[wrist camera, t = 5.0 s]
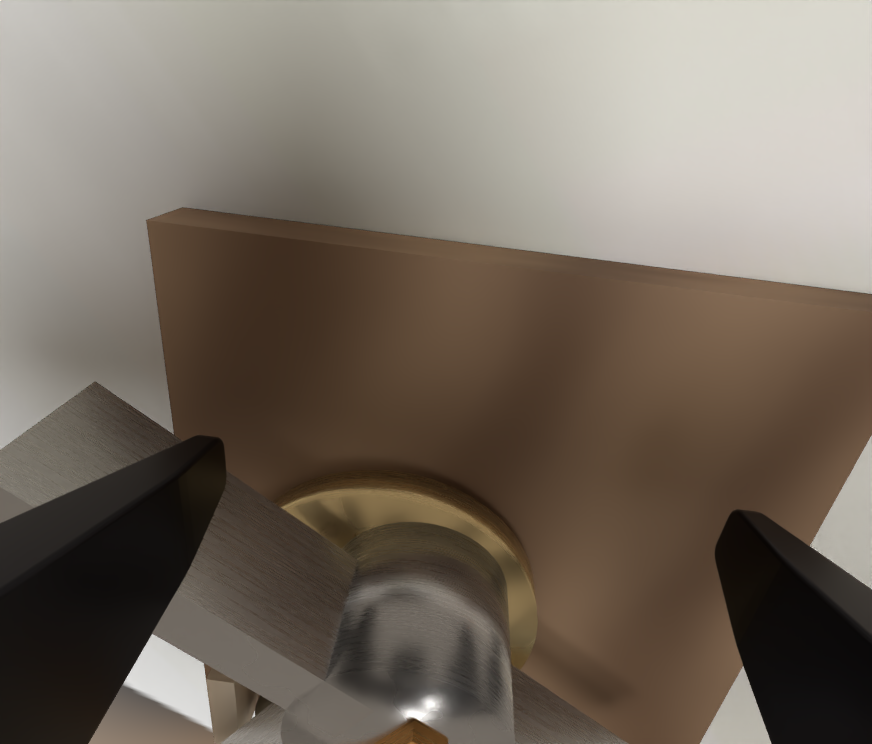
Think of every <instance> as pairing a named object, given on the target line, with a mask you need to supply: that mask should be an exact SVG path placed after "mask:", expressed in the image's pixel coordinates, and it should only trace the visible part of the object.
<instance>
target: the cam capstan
mask: <svg viewBox="0 0 872 744" xmlns="http://www.w3.org/2000/svg"><path fill="white" fill-rule="evenodd" d="M180 442H182V440H181V439H179V438H178V437H176V436H175V435H173V434H172V433H170V432H169V431H167V430H166V429H164V428H163V427H161V426H160V425H159V424H157V423H156V422H154V421H153V420H151V419H150V418H148V417H147V416H145V415H144V414H142V413H141V412H139V411H138V410H136V409H135V408H133V407H132V406H131V405H129V404H128V403H126V402H125V401H123V400H122V399H120V398H119V397H117V396H116V395H114V394H113V393H111V392H110V391H108V390H107V389H106V388H104V387H103V386H101V385H100V384H98V383H97V382H94V383H92V384H91V385H89V386H88V387H87V388H85V389H84V390H83V391H81V392H80V393H78V394H77V395H76V396H74V397H73V398H71V399H70V400H69V401H67V402H66V403H65V404H63V405H62V406H60V407H59V408H58V409H56V410H55V411H54V412H52V413H51V414H49V415H48V416H47V417H45V418H44V419H42V420H41V421H40V422H38V423H37V424H36V425H34V426H33V427H31V428H30V429H29V430H27V431H26V432H24V433H23V434H22V435H20V436H19V437H18V438H16V439H15V440H13V441H12V442H11V443H9V444H8V445H6V446H5V447H4V448H2V449H1V450H0V523H1V522H3V521H6V520H8V519H10V518H12V517H14V516H17V515H19V514H21V513H23V512H26V511H28V510H30V509H32V508H35V507H37V506H39V505H41V504H44V503H46V502H48V501H50V500H53V499H55V498H57V497H59V496H61V495H64V494H66V493H68V492H70V491H73V490H75V489H77V488H79V487H82V486H84V485H86V484H88V483H91V482H93V481H95V480H97V479H99V478H102V477H104V476H106V475H108V474H111V473H113V472H115V471H117V470H120V469H122V468H124V467H126V466H129V465H131V464H133V463H135V462H137V461H140V460H142V459H144V458H146V457H149V456H151V455H153V454H155V453H158V452H160V451H162V450H164V449H167V448H169V447H171V446H173V445H175V444H178V443H180ZM226 473H227V481H226V486H225V490H224V492H223V494H222V497H221V499H220V501H219V504H218V506H217V508H216V510H215V513H214V515H213V517H212V520H211V522H210V524H209V526H208V529H207V531H206V533H205V535H204V538H203V540H202V542H201V545H200V547H199V549H198V551H197V554H196V556H195V558H194V560H193V562H192V564H191V566H190V568H189V570H188V572H187V574H186V576H185V578H184V579H183V581H182V583H181V585H180V586H179V588H178V590H177V592H176V593H175V595H174V597H173V598H172V600H171V602H170V604H169V605H168V607H167V609H166V611H165V612H164V614H163V616H162V617H161V619H160V621H159V623H158V624H157V626H156V628H155V629H154V631H153V633H152V634H154V635H156V636H157V637H159V638H161V639H163V640H164V641H166V642H168V643H170V644H171V645H173V646H175V647H177V648H178V649H180V650H182V651H184V652H185V653H187V654H189V655H191V656H192V657H194V658H196V659H198V660H199V661H201V662H203V663H205V664H206V665H208V666H210V667H212V668H213V669H215V670H217V671H219V672H220V673H222V674H224V675H226V676H227V677H229V678H231V679H233V680H234V681H236V682H238V683H240V684H241V685H243V686H245V687H247V688H248V689H250V690H252V691H254V692H255V693H257V694H259V695H261V696H262V697H264V698H266V699H268V700H269V701H271V702H273V703H272V704H270V705H269V706H268V707H266V708H265V709H264V710H263V711H261V712H260V713H259V714H257V715H256V716H255V717H254V718H252V719H251V720H250V721H248V722H247V723H246V724H245V725H243V726H242V727H241V728H239V729H238V730H237V731H236V732H234V733H233V734H232V735H230V736H229V737H228V738H226V739H225V740H224V741H223V742H221V743H220V744H628V743H627V742H625V741H624V740H622V739H621V738H619V737H618V736H616V735H615V734H613V733H612V732H610V731H609V730H607V729H606V728H605V727H603V726H602V725H600V724H599V723H597V722H596V721H594V720H593V719H591V718H590V717H588V716H587V715H585V714H584V713H582V712H581V711H580V710H578V709H577V708H575V707H574V706H572V705H571V704H569V703H568V702H566V701H565V700H563V699H562V698H560V697H559V696H557V695H556V694H554V693H553V692H552V691H550V690H549V689H547V688H546V687H544V686H543V685H541V684H540V683H538V682H537V681H535V680H534V679H532V678H531V677H529V676H528V675H527V674H525V673H524V672H522V671H521V670H520V669H521V668H522V667H523V665H524V664H525V663H526V661H527V659H528V657H529V655H530V653H531V651H532V649H533V645H534V642H535V639H536V634H537V625H538V619H537V607H536V597H535V588H534V578H533V573H532V569H531V566H530V562H529V560H528V557H527V555H526V553H525V551H524V548H523V547H522V545H521V544H520V542H519V541H518V539H517V537H516V536H515V534H514V533H513V532H512V531H511V530H510V529H509V527H508V526H507V525H506V524H505V523H504V522H503V521H502V520H501V519H500V518H499V517H498V516H497V515H496V514H495V513H493V512H492V511H491V510H490V509H489V508H488V507H486V506H485V505H483V504H482V503H480V502H479V501H477V500H476V499H474V498H473V497H471V496H469V495H467V494H465V493H463V492H462V491H460V490H458V489H456V488H454V487H452V486H449V485H446V484H444V483H441V482H438V481H436V480H433V479H430V478H426V477H422V476H418V475H415V474H410V473H404V472H397V471H391V470H353V471H344V472H338V473H333V474H328V475H324V476H321V477H318V478H315V479H311V480H309V481H306V482H304V483H302V484H300V485H298V486H295V487H293V488H291V489H290V490H288V491H287V492H285V493H284V494H282V495H280V496H279V497H278V498H276V499H275V500H274V501H273V502H272V501H270V500H269V499H267V498H266V497H265V496H263V495H262V494H260V493H259V492H257V491H256V490H254V489H253V488H251V487H250V486H248V485H247V484H245V483H244V482H242V481H241V480H239V479H238V478H237V477H235V476H234V475H232V474H231V473H229V472H228V471H226Z"/></svg>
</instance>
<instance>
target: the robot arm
mask: <svg viewBox="0 0 872 744" xmlns="http://www.w3.org/2000/svg"><path fill="white" fill-rule="evenodd" d="M226 481H227V473H226V461H225V448H224V443H223V441H222V440H221V439H220V438H219V437H212V436H205V435H196V436H193V437H191V438H189V439H187V440H184V441H182V442H180V443H178V444H175V445H173V446H171V447H169V448H167V449H164V450H162V451H160V452H158V453H155V454H153V455H151V456H149V457H146V458H144V459H142V460H140V461H137V462H135V463H133V464H131V465H129V466H126V467H124V468H122V469H120V470H117V471H115V472H113V473H111V474H108V475H106V476H104V477H102V478H99V479H97V480H95V481H93V482H91V483H88V484H86V485H84V486H82V487H79V488H77V489H75V490H73V491H70V492H68V493H66V494H64V495H61V496H59V497H57V498H55V499H53V500H50V501H48V502H46V503H44V504H41V505H39V506H37V507H35V508H32V509H30V510H28V511H26V512H23V513H21V514H19V515H17V516H14V517H12V518H10V519H8V520H6V521H3V522H1V523H0V744H88V743H89V741H90V740H91V738H92V736H93V735H94V733H95V731H96V729H97V728H98V726H99V724H100V723H101V721H102V719H103V717H104V716H105V714H106V712H107V710H108V709H109V707H110V705H111V704H112V702H113V700H114V698H115V697H116V695H117V693H118V691H119V689H120V688H121V686H122V685H123V683H124V681H125V679H126V678H127V676H128V674H129V673H130V671H131V669H132V667H133V666H134V664H135V662H136V660H137V659H138V657H139V655H140V654H141V652H142V650H143V648H144V647H145V645H146V643H147V642H148V640H149V638H150V636H151V635H152V633H153V631H154V629H155V628H156V626H157V624H158V623H159V621H160V619H161V617H162V616H163V614H164V612H165V611H166V609H167V607H168V605H169V604H170V602H171V600H172V598H173V597H174V595H175V593H176V592H177V590H178V588H179V586H180V585H181V583H182V581H183V579H184V578H185V576H186V574H187V572H188V570H189V568H190V566H191V564H192V562H193V560H194V558H195V556H196V554H197V551H198V549H199V547H200V545H201V542H202V540H203V538H204V535H205V533H206V531H207V529H208V526H209V524H210V522H211V520H212V517H213V515H214V513H215V510H216V508H217V506H218V504H219V501H220V499H221V497H222V494H223V492H224V490H225V486H226ZM714 555H715V562H716V566H717V570H718V574H719V578H720V583H721V587H722V591H723V595H724V599H725V603H726V607H727V611H728V615H729V619H730V623H731V627H732V631H733V635H734V638H735V642H736V645H737V648H738V651H739V654H740V657H741V660H742V663H743V666H744V669H745V671H746V674H747V677H748V680H749V682H750V685H751V688H752V691H753V693H754V696H755V699H756V702H757V705H758V707H759V710H760V713H761V716H762V718H763V721H764V724H765V727H766V729H767V732H768V735H769V738H770V740H771V743H772V744H872V589H870V588H869V587H867V586H866V585H865V584H863V583H862V582H860V581H859V580H857V579H856V578H854V577H853V576H852V575H850V574H849V573H847V572H846V571H844V570H843V569H842V568H840V567H839V566H837V565H836V564H834V563H833V562H832V561H830V560H829V559H827V558H826V557H824V556H823V555H821V554H820V553H819V552H817V551H816V550H814V549H813V548H811V547H810V546H809V545H807V544H806V543H804V542H803V541H801V540H800V539H799V538H797V537H796V536H794V535H793V534H791V533H790V532H788V531H787V530H786V529H784V528H783V527H781V526H780V525H778V524H777V523H776V522H774V521H773V520H771V519H770V518H768V517H767V516H766V515H764V514H762V513H760V512H756V511H749V510H741V509H736V510H734V511H732V512H731V513H730V515H729V517H728V519H727V521H726V523H725V525H724V528H723V530H722V532H721V534H720V536H719V539H718V541H717V543H716V546H715V553H714Z"/></svg>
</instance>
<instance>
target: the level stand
mask: <svg viewBox="0 0 872 744" xmlns="http://www.w3.org/2000/svg"><path fill="white" fill-rule="evenodd" d="M146 221H147V229H148V236H149V244H150V252H151V259H152V267H153V275H154V282H155V290H156V298H157V305H158V313H159V321H160V329H161V336H162V344H163V352H164V359H165V367H166V375H167V382H168V390H169V398H170V406H171V413H172V421H173V429H174V435H175V436H176V437H178V438H179V439H181V440H182V441H184V440H187V439H189V438H191V437H193V436H196V435H205V436H212V437H219V438H220V439H221V440H222V441H223V443H224V448H225V461H226V471H228V472H229V473H231V474H232V475H234V476H235V477H237V478H238V479H239V480H241V481H242V482H244V483H245V484H247V485H248V486H250V487H251V488H253V489H254V490H256V491H257V492H259V493H260V494H262V495H263V496H265V497H266V498H267V499H269V500H270V501H272V502H273V501H274V500H275V499H276V498H278V497H279V496H280V495H282V494H284V493H285V492H287V491H288V490H290V489H291V488H293V487H295V486H298V485H300V484H302V483H304V482H306V481H309V480H311V479H315V478H318V477H321V476H324V475H328V474H333V473H338V472H344V471H353V470H391V471H397V472H404V473H410V474H415V475H418V476H422V477H426V478H430V479H433V480H436V481H438V482H441V483H444V484H446V485H449V486H452V487H454V488H456V489H458V490H460V491H462V492H463V493H465V494H467V495H469V496H471V497H473V498H474V499H476V500H477V501H479V502H480V503H482V504H483V505H485V506H486V507H488V508H489V509H490V510H491V511H492V512H493V513H495V514H496V515H497V516H498V517H499V518H500V519H501V520H502V521H503V522H504V523H505V524H506V525H507V526H508V527H509V529H510V530H511V531H512V532H513V533H514V534H515V536H516V537H517V539H518V541H519V542H520V544H521V545H522V547H523V548H524V551H525V553H526V555H527V557H528V560H529V562H530V566H531V569H532V573H533V578H534V588H535V597H536V607H537V619H538V625H537V634H536V639H535V642H534V645H533V649H532V651H531V653H530V655H529V657H528V659H527V661H526V663H525V664H524V665H523V667H522V668H521V669H520V670H521V671H522V672H524V673H525V674H527V675H528V676H529V677H531V678H532V679H534V680H535V681H537V682H538V683H540V684H541V685H543V686H544V687H546V688H547V689H549V690H550V691H552V692H553V693H554V694H556V695H557V696H559V697H560V698H562V699H563V700H565V701H566V702H568V703H569V704H571V705H572V706H574V707H575V708H577V709H578V710H580V711H581V712H582V713H584V714H585V715H587V716H588V717H590V718H591V719H593V720H594V721H596V722H597V723H599V724H600V725H602V726H603V727H605V728H606V729H607V730H609V731H610V732H612V733H613V734H615V735H616V736H618V737H619V738H621V739H622V740H624V741H625V742H627V743H628V744H700V742H701V740H702V738H703V736H704V735H705V733H706V731H707V729H708V727H709V726H710V724H711V722H712V720H713V718H714V717H715V715H716V713H717V711H718V709H719V708H720V706H721V704H722V702H723V701H724V699H725V697H726V695H727V693H728V692H729V690H730V688H731V686H732V684H733V683H734V681H735V679H736V677H737V675H738V674H739V672H740V670H741V668H742V666H743V663H742V660H741V657H740V654H739V651H738V648H737V645H736V642H735V638H734V635H733V631H732V627H731V623H730V619H729V615H728V611H727V607H726V603H725V599H724V595H723V591H722V587H721V583H720V578H719V574H718V570H717V566H716V562H715V555H714V553H715V546H716V543H717V541H718V539H719V536H720V534H721V532H722V530H723V528H724V525H725V523H726V521H727V519H728V517H729V515H730V513H731V512H732V511H734V510H736V509H741V510H749V511H756V512H760V513H762V514H764V515H766V516H767V517H768V518H770V519H771V520H773V521H774V522H776V523H777V524H778V525H780V526H781V527H783V528H784V529H786V530H787V531H788V532H790V533H791V534H793V535H794V536H796V537H797V538H799V539H800V540H801V541H803V542H804V543H806V544H807V545H809V546H810V544H811V543H812V541H813V539H814V537H815V535H816V534H817V532H818V530H819V528H820V526H821V525H822V523H823V521H824V519H825V517H826V516H827V514H828V512H829V510H830V508H831V507H832V505H833V503H834V501H835V499H836V498H837V496H838V494H839V492H840V491H841V489H842V487H843V485H844V483H845V482H846V480H847V478H848V476H849V474H850V473H851V471H852V469H853V467H854V465H855V464H856V462H857V460H858V458H859V456H860V455H861V453H862V451H863V449H864V447H865V446H866V444H867V442H868V440H869V438H870V437H871V435H872V294H865V293H857V292H849V291H841V290H833V289H825V288H817V287H809V286H801V285H793V284H785V283H777V282H769V281H761V280H754V279H746V278H738V277H730V276H722V275H714V274H706V273H698V272H690V271H682V270H674V269H666V268H658V267H650V266H643V265H635V264H627V263H619V262H611V261H603V260H595V259H587V258H579V257H571V256H563V255H555V254H547V253H539V252H532V251H524V250H516V249H508V248H500V247H492V246H484V245H476V244H468V243H460V242H452V241H444V240H436V239H428V238H421V237H413V236H405V235H397V234H389V233H381V232H373V231H365V230H357V229H349V228H341V227H333V226H325V225H318V224H310V223H302V222H294V221H286V220H278V219H270V218H262V217H254V216H246V215H238V214H230V213H222V212H214V211H207V210H199V209H191V208H183V207H182V208H179V209H177V210H174V211H171V212H168V213H165V214H163V215H160V216H157V217H154V218H151V219H148V220H146ZM204 667H205V675H206V683H207V690H208V698H209V705H210V712H211V720H212V728H213V735H214V743H215V744H220V743H221V742H223V741H224V740H225V739H226V738H228V737H229V736H230V735H232V734H233V733H234V732H236V731H237V730H238V729H239V728H241V727H242V726H243V725H245V724H246V723H247V722H248V721H250V720H251V719H252V716H253V713H254V711H255V716H256V715H257V714H259V713H260V712H261V711H263V710H264V709H265V708H266V707H268V706H269V705H270V704H272V703H273V702H271V701H269V700H268V699H266V698H264V697H262V696H261V695H259V694H257V693H255V692H254V691H252V690H250V689H248V688H247V687H245V686H243V685H241V684H240V683H238V682H236V681H234V680H233V679H231V678H229V677H227V676H226V675H224V674H222V673H220V672H219V671H217V670H215V669H213V668H212V667H210V666H208V665H206V664H205V663H204Z"/></svg>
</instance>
